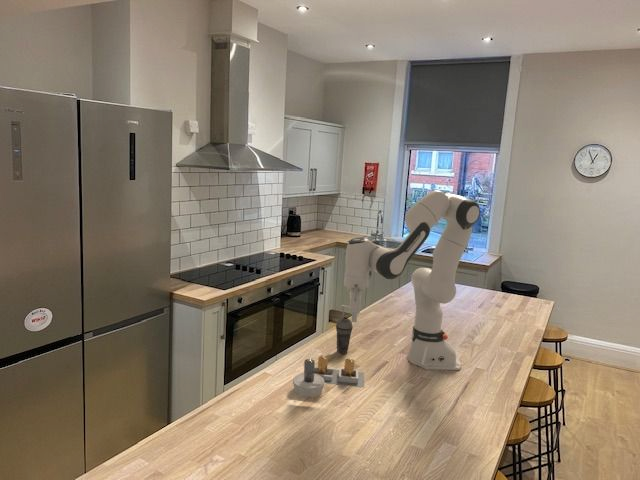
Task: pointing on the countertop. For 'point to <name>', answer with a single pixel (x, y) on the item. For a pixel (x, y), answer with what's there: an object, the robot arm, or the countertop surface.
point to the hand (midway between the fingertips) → (354, 316)
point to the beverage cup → (343, 334)
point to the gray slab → (342, 377)
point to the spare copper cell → (322, 365)
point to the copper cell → (349, 367)
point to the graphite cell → (309, 370)
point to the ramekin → (308, 386)
